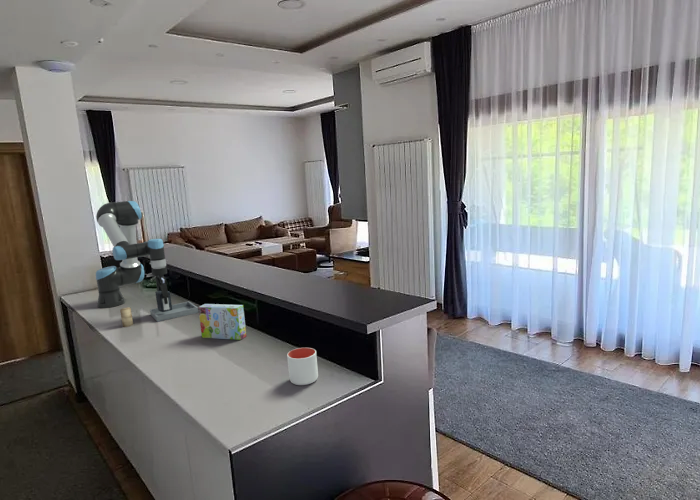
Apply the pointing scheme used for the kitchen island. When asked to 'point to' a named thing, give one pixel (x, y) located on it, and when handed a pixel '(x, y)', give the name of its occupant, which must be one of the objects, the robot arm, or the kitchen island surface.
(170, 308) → the box
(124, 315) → the canister
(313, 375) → the cup
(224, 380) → the kitchen island surface
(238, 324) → the snack box
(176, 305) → the grey tray
